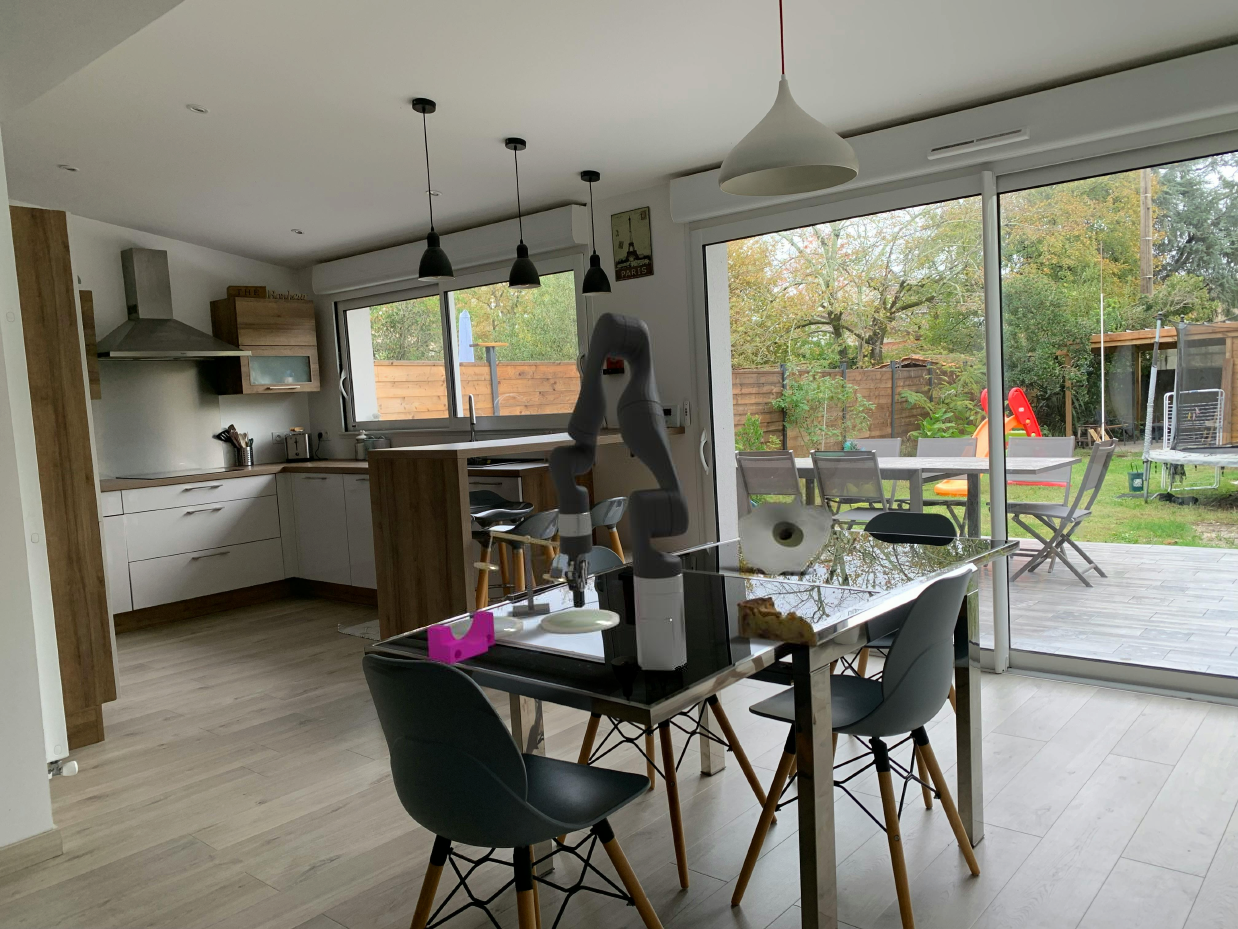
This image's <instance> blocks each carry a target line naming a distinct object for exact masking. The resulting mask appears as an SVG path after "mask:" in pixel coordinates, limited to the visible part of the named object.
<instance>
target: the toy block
mask: <svg viewBox="0 0 1238 929" xmlns="http://www.w3.org/2000/svg"><path fill="white" fill-rule="evenodd" d="M493 616H494V612H492V611H487V610H478V611H475V612H473V617H472V618H473V622H472V625H471V627H470V629H469V631H468V632H467V633H466V635H465V636H463V637H462V638H461V639H459V640H458V639H456V638H455V637H454V636H453V634H452V632H451V628H450V626H448V625H444V624H438V623H437V624H433V625H430V626H428V627H427V641H428V642H427V643H428V655H429V660H430V659H431V660H430V661H432V660H438V661H442V662H441V663H443V662H447V663H446V664H450V665H451V664H452V665H453V664H455V663H458V662H461V661H463V660H467V659H469V658H472V657H475V656H477V655H480V654H483V653H486V652H488V651H489V647H490V646H491V647H492V646H494V645H496V639H495V633H494V618H493ZM438 661H437V662H438Z"/></svg>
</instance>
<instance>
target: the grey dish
mask: <svg viewBox="0 0 1238 929" xmlns="http://www.w3.org/2000/svg"><path fill="white" fill-rule="evenodd" d="M493 618H494V633H495V640H500V639H501V640H502V639H504V638H509V637H512V636H515V635H517V634H519V633H521V632H522V631H523V630H524V622H523V621H522V619H519V618H518V617H517V618H516V617H513V616H512V617H511V616H503V615H502V616H501V615H500V616H498V615H496V616H494V615H493ZM472 622H473V617H472V618H466V619H461V620H458V621H454V622H452V623H450V624H448V625H447V626H450V628H451V632H452V634H453V636H454V637H455V638H456V639H458V640H459V639H461V638H462V637H463V636H465V635H466V633H467V632H468V631H469V629H470V627H471V625H472Z"/></svg>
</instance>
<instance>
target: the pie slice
mask: <svg viewBox="0 0 1238 929" xmlns="http://www.w3.org/2000/svg"><path fill="white" fill-rule="evenodd" d="M736 606H737V614H738V615H737V631H738V635H739V637H740V638H747V639H748V638H750V639H755V640H756V639H758V640H766V641H773V642H780V643H781V642H783V643H791V644H797V645H804V646H805V645H806V646H812V647H816V646H818V642H819V641H818V639H817V633H816V632H815V630H814V627H813V625H812V624H811V622H809V621H808V620H806V619H805V618H803V616H802V615H798V614H797V612H796V611H795V610H794V611H789V612H787V614H785V616H783V612H782V611H780V610H777V608H776V607H775V606H776V603H775V601H774V599H773V597H772V596H767V597H760V596H759V597H755V598H750V599H747V600H743V601H740V602H738V603H737V604H736Z"/></svg>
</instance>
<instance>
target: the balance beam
mask: <svg viewBox="0 0 1238 929" xmlns="http://www.w3.org/2000/svg"><path fill="white" fill-rule="evenodd" d="M489 536H491V537H490V540H489V546H488V550H487V556H486V562H474V563H473V566H474V568H477V569H480V570H485V571H499V568H500V567H499V566H498V565H496V564H493V563H488V562H489V558H490V552H491V548H492V542H493V537H498V538H502V539H508V540H509V539H510V540H515V541H521V542H523V543H524V544H530V543H532V544H536V545H537V544H538V545H543V546H550V547H555V548H560V545H559V542H555V541H549V540H545V539H544V540H543V539H537V538H532V537H531V536H530V535H524V536H521V535H515V534H509V533H505V532H504V533H503V532H497V531H493V530H491V531H490V532H489ZM561 555H562V554H561V553H560V549H559V551H558V556H557V562H556V566H554V565H551V566H550V571H549V573H544V574H543V575H542V578H543V579H545V580H546V581H549V582H550V581H551V582H556V583H567V581H566V578H565V576H563V571H564V569H563V567H561V566H559V564H560V560H561Z"/></svg>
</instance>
